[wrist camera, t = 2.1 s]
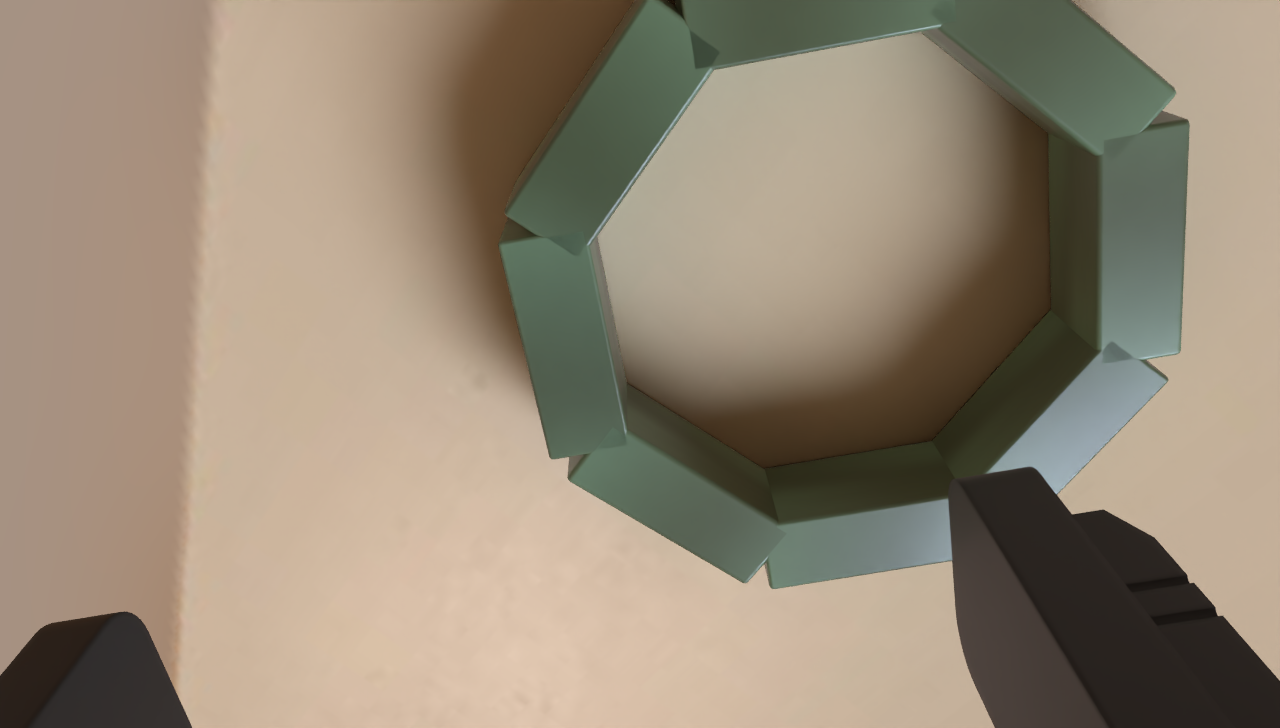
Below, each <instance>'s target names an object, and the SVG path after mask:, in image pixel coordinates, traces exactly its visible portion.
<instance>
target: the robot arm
mask: <svg viewBox="0 0 1280 728" xmlns="http://www.w3.org/2000/svg"><path fill="white" fill-rule="evenodd" d="M948 504H949V519H950V534H951V549H952V563H953V578H954V592H955V607H956V618H957V625H958V630H959V636H960V640H961V645H962V649H963V652H964V656H965V659H966V663H967V666H968V669H969V671H970V674H971V677H972V679H973V681H974V684H975V686H976V688H977V690H978V692H979V694H980V697H981V699H982V701H983V703H984V705H985V707H986V709H987V712H988V714H989V716H990V718H991V720H992V722H993V724H994V727H995V728H1280V681H1279V680H1278V678H1277V677H1276V676H1275V675H1274V674H1273V673H1272V672H1271V670H1270V669H1269V668H1268V667H1267V666H1266V665H1265V664H1264V662H1263V661H1262V660H1261V659H1260V658H1259V657H1258V656H1257V654H1256V653H1255V652H1254V651H1253V650H1252V649H1251V648H1250V646H1249V645H1248V644H1247V643H1246V642H1245V641H1244V640H1243V638H1242V637H1241V636H1240V635H1239V634H1238V633H1237V632H1236V630H1235V629H1234V628H1233V627H1232V626H1231V625H1230V624H1229V622H1228V621H1227V620H1226V619H1225V618H1224V617H1223V616H1218V615H1217V613H1216V610H1215V606H1214V605H1213V604H1212V603H1211V602H1210V601H1209V600H1208V598H1207V597H1206V596H1205V595H1204V594H1203V593H1202V591H1201V590H1200V589H1199V588H1198V587H1197V586H1196V585H1195V583H1189V581H1188V578H1187V574H1186V573H1185V572H1184V571H1183V570H1182V569H1181V567H1180V566H1179V565H1178V564H1177V563H1176V562H1175V561H1174V559H1173V558H1172V557H1171V556H1170V555H1169V554H1168V553H1167V551H1166V550H1165V549H1164V548H1163V547H1162V546H1161V545H1160V543H1159V542H1158V541H1157V540H1156V539H1155V538H1154V537H1152V536H1151V535H1149V534H1147V533H1145V532H1143V531H1141V530H1140V529H1138V528H1136V527H1134V526H1132V525H1131V524H1129V523H1127V522H1125V521H1123V520H1121V519H1120V518H1118V517H1116V516H1114V515H1112V514H1111V513H1109V512H1107V511H1105V510H1098V511H1092V512H1086V513H1079V514H1073V515H1072V514H1071V513H1070V512H1069V510H1068V509H1067V508H1066V506H1065V505H1064V504H1063V502H1062V501H1061V500H1060V499H1059V497H1058V496H1057V495H1056V493H1055V492H1054V491H1053V489H1052V488H1051V487H1050V486H1049V484H1048V483H1047V482H1046V480H1045V479H1044V478H1043V476H1042V475H1041V474H1040V473H1039V472H1038V470H1037V469H1035V468H1034V467H1024V468H1018V469H1012V470H1005V471H999V472H993V473H987V474H981V475H975V476H968V477H962V478H956V479H952V480H951V482H950V485H949V491H948ZM0 728H192V726H191V724H190V722H189V720H188V717H187V715H186V713H185V711H184V709H183V706H182V704H181V702H180V700H179V698H178V695H177V693H176V691H175V689H174V687H173V685H172V682H171V680H170V678H169V676H168V674H167V671H166V669H165V667H164V665H163V663H162V660H161V659H160V656H159V654H158V652H157V650H156V647H155V645H154V643H153V641H152V639H151V636H150V634H149V632H148V630H147V628H146V626H145V625H144V624H143V622H142V621H141V620H140V619H139V618H138V617H137V616H136V615H134V614H132V613H129V612H118V613H111V614H106V615H99V616H94V617H87V618H81V619H75V620H68V621H62V622H56V623H51V624H48V625H46V626H44V627H43V628H41V629H40V630H39V631H38V632H37V633H36V634H35V635H34V636H33V637H32V638H31V640H30V641H29V642H28V643H27V644H26V646H25V647H24V648H23V649H22V650H21V652H20V653H19V654H18V655H17V656H16V658H15V659H14V660H13V661H12V662H11V664H10V665H9V666H8V667H7V669H6V670H5V671H4V672H3V673H2V674H1V676H0Z"/></svg>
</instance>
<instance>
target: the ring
mask: <svg viewBox="0 0 1280 728" xmlns="http://www.w3.org/2000/svg"><path fill="white" fill-rule="evenodd" d="M675 6H676V7H675ZM675 6H674V5H672V4H671V3H670V2H668V1H667V0H635V1H634V2H633V4H632V5H631V7H630V8H629V10H628V11H627V13H626V14H625V16H624V17H623V19H622V20H621V22H620V23H619V25H618V27H617V28H616V30H615V31H614V33H613V34H612V36H611V37H610V39H609V40H608V42H607V43H606V45H605V46H604V48H603V49H602V51H601V52H600V54H599V55H598V57H597V59H596V60H595V62H594V63H593V65H592V66H591V68H590V69H589V71H588V72H587V74H586V75H585V77H584V78H583V80H582V81H581V83H580V84H579V86H578V87H577V89H576V91H575V92H574V94H573V95H572V97H571V98H570V100H569V101H568V103H567V104H566V106H565V107H564V109H563V110H562V112H561V113H560V115H559V116H558V118H557V119H556V121H555V123H554V124H553V126H552V127H551V129H550V130H549V132H548V133H547V135H546V136H545V138H544V139H543V141H542V142H541V144H540V145H539V147H538V148H537V150H536V151H535V153H534V155H533V156H532V158H531V159H530V161H529V162H528V164H527V165H526V167H525V168H524V170H523V171H522V173H521V174H520V176H519V177H518V179H517V180H516V182H515V185H514V188H513V190H512V193H511V195H510V198H509V200H508V203H507V205H506V208H505V214H506V216H507V217H508V219H507V222H506V224H505V227H504V230H503V232H502V235H501V238H500V241H499V244H498V246H499V251H500V255H501V259H502V263H503V267H504V271H505V275H506V279H507V284H508V288H509V292H510V296H511V300H512V304H513V308H514V312H515V317H516V321H517V325H518V329H519V333H520V337H521V341H522V345H523V350H524V354H525V358H526V362H527V366H528V370H529V374H530V379H531V383H532V387H533V391H534V395H535V399H536V403H537V407H538V412H539V416H540V420H541V424H542V428H543V432H544V436H545V440H546V445H547V449H548V453H549V457H550V458H551V459H559V458H565V457H569V466H568V480H569V481H570V482H572V483H574V484H575V485H577V486H579V487H580V488H582V489H584V490H585V491H587V492H589V493H591V494H592V495H594V496H596V497H597V498H599V499H601V500H603V501H604V502H606V503H608V504H609V505H611V506H613V507H614V508H616V509H618V510H620V511H621V512H623V513H625V514H626V515H628V516H630V517H632V518H633V519H635V520H637V521H638V522H640V523H642V524H643V525H645V526H647V527H649V528H650V529H652V530H654V531H655V532H657V533H659V534H661V535H662V536H664V537H666V538H667V539H669V540H671V541H672V542H674V543H676V544H678V545H679V546H681V547H683V548H684V549H686V550H688V551H690V552H691V553H693V554H695V555H696V556H698V557H700V558H701V559H703V560H705V561H707V562H708V563H710V564H712V565H713V566H715V567H717V568H719V569H720V570H722V571H724V572H725V573H727V574H729V575H730V576H732V577H734V578H736V579H737V580H739V581H741V582H742V583H747V582H748V581H749V580H750V579H751V578H752V577H753V576H754V575H755V574H756V572H757V571H758V570H759V569H760V568H761V567H762V566H763V564H765V569H766V573H767V577H768V581H769V586H770V587H771V588H772V589H778V588H784V587H790V586H797V585H803V584H809V583H815V582H822V581H828V580H834V579H841V578H847V577H853V576H859V575H866V574H872V573H878V572H885V571H891V570H897V569H903V568H910V567H916V566H922V565H928V564H935V563H941V562H947V561H952V549H951V534H950V519H949V504H948V491H949V485H950V482H951V480H952V479H956V478H962V477H968V476H975V475H981V474H987V473H993V472H999V471H1005V470H1012V469H1018V468H1024V467H1034V468H1035V469H1037V470H1038V472H1039V473H1040V474H1041V475H1042V476H1043V478H1044V479H1045V480H1046V482H1047V483H1048V484H1049V486H1050V487H1051V488H1052V489H1053V491H1054V492H1055V493H1056V495H1057V494H1058V493H1059V492H1060V491H1061V490H1062V489H1063V488H1064V487H1065V486H1066V485H1067V484H1068V483H1069V482H1070V481H1071V480H1072V479H1073V478H1074V477H1075V476H1076V475H1077V474H1078V473H1079V472H1080V471H1081V470H1082V469H1083V468H1084V467H1085V466H1086V465H1087V464H1088V463H1089V462H1090V461H1091V459H1092V458H1093V457H1094V456H1095V455H1096V454H1097V453H1098V452H1099V451H1100V450H1101V449H1102V448H1103V447H1104V446H1105V445H1106V444H1107V443H1108V442H1109V441H1110V440H1111V439H1112V438H1113V437H1114V436H1115V435H1116V434H1117V433H1118V432H1119V431H1120V430H1121V429H1122V428H1123V427H1124V426H1125V425H1126V424H1127V423H1128V422H1129V421H1130V420H1131V419H1132V418H1133V417H1134V416H1135V415H1136V414H1137V412H1138V411H1139V410H1140V409H1141V408H1142V407H1143V406H1144V405H1145V404H1146V403H1147V402H1148V401H1149V400H1150V399H1151V398H1152V397H1153V396H1154V395H1155V394H1156V393H1157V392H1158V391H1159V390H1160V389H1161V388H1162V387H1163V386H1164V385H1165V384H1166V383H1167V382H1168V378H1167V376H1166V375H1164V374H1163V373H1162V372H1161V371H1159V370H1158V369H1157V368H1156V367H1155V366H1153V365H1152V364H1151V363H1150V362H1148V361H1147V360H1146V359H1152V358H1158V357H1164V356H1170V355H1176V354H1178V353H1180V351H1181V329H1182V304H1183V278H1184V252H1185V227H1186V201H1187V175H1188V150H1189V121H1188V120H1187V119H1185V118H1182V117H1179V116H1176V115H1173V114H1170V113H1167V112H1164V111H1162V110H1163V109H1164V108H1165V107H1166V105H1167V104H1168V103H1169V102H1170V101H1171V100H1172V99H1173V98H1174V96H1175V94H1176V91H1175V89H1174V87H1173V86H1172V85H1170V84H1169V83H1168V82H1167V81H1166V80H1165V79H1163V78H1162V77H1161V76H1160V75H1159V74H1157V73H1156V72H1155V71H1154V70H1153V69H1152V68H1150V67H1149V66H1148V65H1147V64H1146V63H1144V62H1143V61H1142V60H1141V59H1140V58H1139V57H1137V56H1136V55H1135V54H1134V53H1133V52H1131V51H1130V50H1129V49H1128V48H1127V47H1126V46H1124V45H1123V44H1122V43H1121V42H1120V41H1118V40H1117V39H1116V38H1115V37H1114V36H1113V35H1111V34H1110V33H1109V32H1108V31H1107V30H1105V29H1104V28H1103V27H1102V26H1101V25H1100V24H1098V23H1097V22H1096V21H1095V20H1094V19H1092V18H1091V17H1090V16H1089V15H1088V14H1087V13H1085V12H1084V11H1083V10H1082V9H1081V8H1079V7H1078V6H1077V5H1076V4H1075V3H1074V2H1072V1H1071V0H675ZM916 32H921V33H923V34H924V35H925V36H926V37H928V38H929V39H930V40H931V41H933V42H934V43H935V44H936V45H938V46H939V47H940V48H942V49H943V50H944V51H945V52H947V53H948V54H949V55H950V56H952V57H953V58H954V59H955V60H957V61H958V62H959V63H960V64H962V65H963V66H964V67H965V68H967V69H968V70H969V71H970V72H972V73H973V74H974V75H975V76H977V77H978V78H979V79H980V80H982V81H983V82H984V83H986V84H987V85H988V86H989V87H991V88H992V89H993V90H994V91H996V92H997V93H998V94H999V95H1001V96H1002V97H1003V98H1004V99H1006V100H1007V101H1008V102H1009V103H1011V104H1012V105H1013V106H1014V107H1016V108H1017V109H1018V110H1019V111H1021V112H1022V113H1023V114H1024V115H1026V116H1027V117H1028V118H1030V119H1031V120H1032V121H1033V122H1035V123H1036V124H1037V125H1038V126H1040V127H1041V128H1042V129H1043V130H1045V131H1046V132H1047V133H1048V148H1049V209H1050V271H1051V310H1050V311H1049V312H1048V313H1047V314H1046V315H1045V316H1044V318H1043V319H1042V320H1041V321H1040V322H1039V323H1038V324H1037V325H1036V326H1035V327H1034V329H1033V330H1032V331H1031V332H1030V333H1029V334H1028V335H1027V336H1026V337H1025V339H1024V340H1023V341H1022V342H1021V343H1020V344H1019V345H1018V346H1017V347H1016V348H1015V350H1014V351H1013V352H1012V353H1011V354H1010V355H1009V356H1008V357H1007V358H1006V360H1005V361H1004V362H1003V363H1002V364H1001V365H1000V366H999V367H998V368H997V370H996V371H995V372H994V373H993V374H992V375H991V376H990V377H989V378H988V379H987V381H986V382H985V383H984V384H983V385H982V386H981V387H980V388H979V389H978V391H977V392H976V393H975V394H974V395H973V396H972V397H971V398H970V399H969V401H968V402H967V403H966V404H965V405H964V406H963V407H962V408H961V409H960V410H959V412H958V413H957V414H956V415H955V416H954V417H953V418H952V419H951V420H950V422H949V423H948V424H947V425H946V426H945V427H944V428H943V429H942V430H941V431H940V433H939V434H938V435H937V436H936V437H935V438H934V439H933V440H932V441H929V442H923V443H917V444H911V445H905V446H899V447H893V448H887V449H881V450H875V451H868V452H862V453H856V454H850V455H844V456H838V457H832V458H826V459H820V460H814V461H808V462H802V463H796V464H790V465H784V466H778V467H772V468H766V469H763V468H762V467H760V466H758V465H757V464H755V463H753V462H752V461H750V460H749V459H747V458H745V457H744V456H742V455H741V454H739V453H737V452H736V451H734V450H733V449H731V448H729V447H728V446H726V445H725V444H723V443H721V442H720V441H718V440H717V439H715V438H713V437H712V436H710V435H709V434H707V433H705V432H704V431H702V430H701V429H699V428H697V427H696V426H694V425H693V424H691V423H689V422H688V421H686V420H685V419H683V418H681V417H680V416H678V415H677V414H675V413H673V412H672V411H670V410H669V409H667V408H665V407H664V406H662V405H661V404H659V403H657V402H656V401H654V400H653V399H651V398H649V397H648V396H646V395H645V394H643V393H641V392H640V391H638V390H637V389H635V388H633V387H632V386H630V385H629V384H627V382H626V377H625V372H624V367H623V362H622V357H621V352H620V347H619V342H618V337H617V332H616V327H615V322H614V317H613V312H612V307H611V302H610V297H609V292H608V287H607V282H606V277H605V272H604V267H603V262H602V257H601V252H600V247H599V242H598V237H597V236H598V234H599V233H600V232H601V230H602V229H603V227H604V226H605V224H606V223H607V222H608V220H609V219H610V217H611V216H612V214H613V213H614V212H615V210H616V209H617V207H618V206H619V204H620V203H621V202H622V200H623V199H624V197H625V196H626V194H627V193H628V192H629V190H630V189H631V187H632V186H633V185H634V183H635V182H636V180H637V179H638V177H639V176H640V175H641V173H642V172H643V170H644V169H645V167H646V166H647V165H648V163H649V162H650V160H651V159H652V157H653V156H654V155H655V153H656V152H657V150H658V149H659V147H660V146H661V145H662V143H663V142H664V140H665V139H666V137H667V136H668V135H669V133H670V132H671V130H672V129H673V128H674V126H675V125H676V123H677V122H678V120H679V119H680V118H681V116H682V115H683V113H684V112H685V110H686V109H687V108H688V106H689V105H690V103H691V102H692V100H693V99H694V98H695V96H696V95H697V93H698V92H699V90H700V89H701V88H702V86H703V85H704V83H705V82H706V80H707V79H708V78H709V76H710V75H711V73H712V72H713V71H714V70H716V69H722V68H727V67H732V66H738V65H743V64H749V63H754V62H759V61H765V60H770V59H776V58H781V57H786V56H792V55H797V54H802V53H808V52H813V51H819V50H824V49H829V48H835V47H840V46H846V45H851V44H856V43H862V42H867V41H873V40H878V39H883V38H889V37H894V36H900V35H905V34H910V33H916Z"/></svg>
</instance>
